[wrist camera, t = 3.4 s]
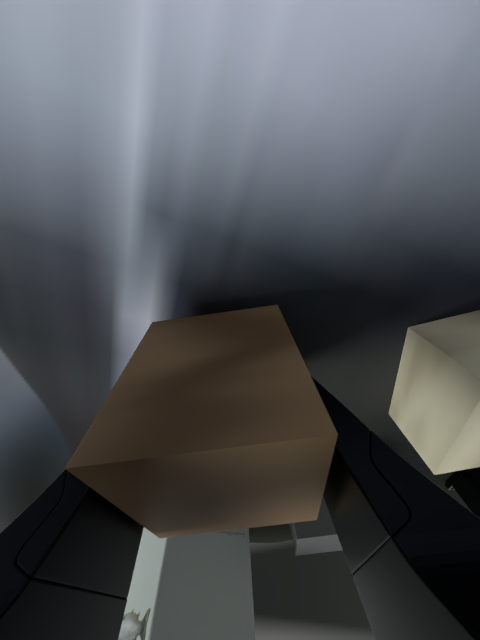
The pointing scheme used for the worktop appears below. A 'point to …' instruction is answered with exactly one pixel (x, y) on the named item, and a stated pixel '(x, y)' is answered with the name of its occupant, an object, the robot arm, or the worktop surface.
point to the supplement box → (191, 588)
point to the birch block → (441, 392)
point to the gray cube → (315, 534)
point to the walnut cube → (211, 428)
